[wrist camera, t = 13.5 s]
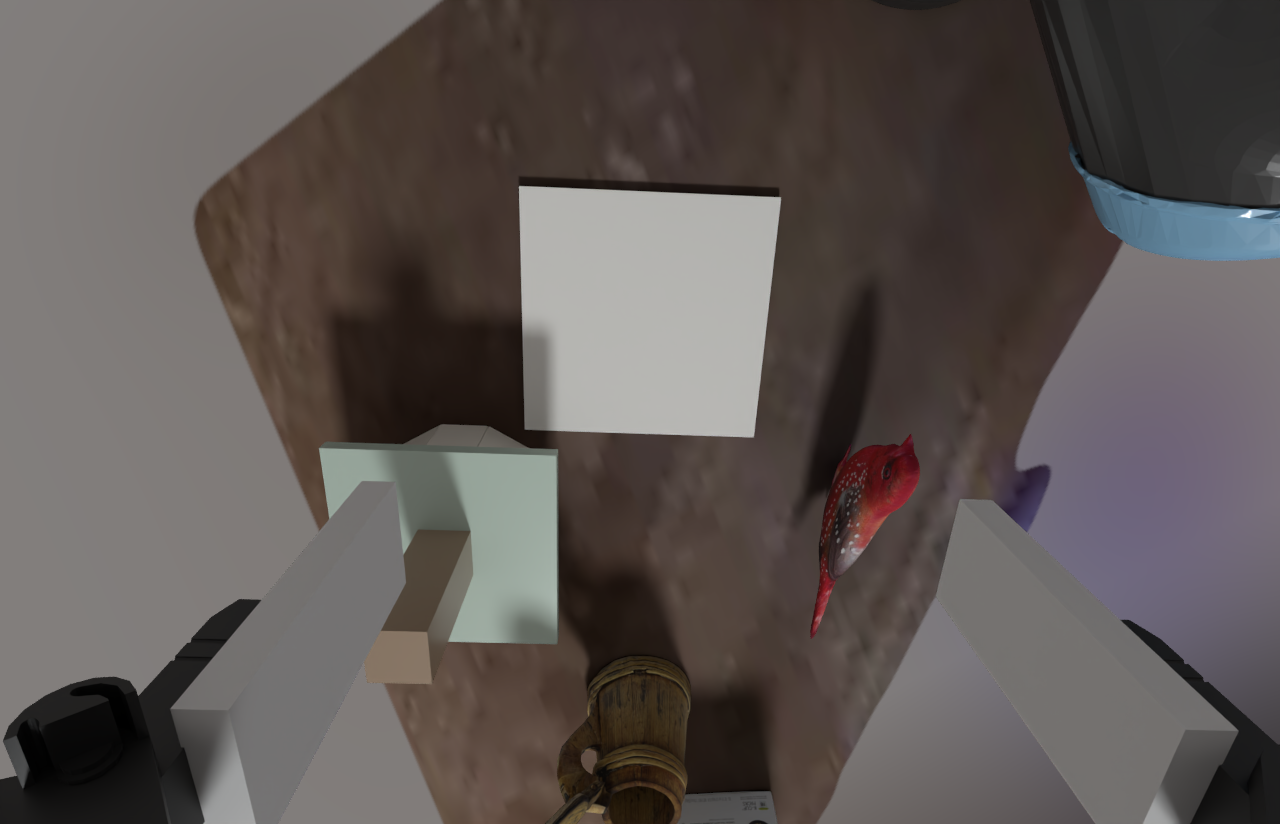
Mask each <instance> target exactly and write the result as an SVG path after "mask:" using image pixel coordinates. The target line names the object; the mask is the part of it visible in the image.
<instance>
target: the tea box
mask: <svg viewBox="0 0 1280 824" xmlns="http://www.w3.org/2000/svg"><path fill="white" fill-rule="evenodd" d="M677 824H778V823H777V818H776V812H775V808H774V803H773V798H772V794H771V792H770V791H753V792H725V793H705V794H688V795H685V799H684V801H683V804H682V812H681V818H680V819H679V821H678V823H677Z"/></svg>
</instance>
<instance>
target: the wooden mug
mask: <svg viewBox="0 0 1280 824" xmlns="http://www.w3.org/2000/svg"><path fill="white" fill-rule="evenodd" d="M690 705H691V687H690V683H689V681H688V679H687V677H686V675H685V674H684V673H683V671H682V670H681V669H680V668H679V667H678V666H676V665H675V664H673V663H671V662H669V661H668V660H664V659H661V658H658V657H653V656H628V657H624V658H621V659H618V660H615V661H613V662H612V663H610V664H609V665H607V666H606V667H604V668H603V669H602V670H601V671H600V672H599V673H598V675H597V676H596V677H595V678H594V679H593V681H592V682H591V683H590V685H589V687H588V708H587V711H588V718H587V719H586V721H585V722H584V723H583V724H582V725H581V726H580V727H579V728H578V729H577V730H576V731H575V732H574V733H573V734H572V735H571V736H570V738H569V739H568V740H567V741H566V742H565V744H564V745H563V746H562V749H561V751H560V754H559V757H558V761H557V777H558V782H559V786H560V791H561V793H562V796H563V798H564V801H565V804H564V805H563V806H562V807H561V808H560V809H559V810H558V811H557V812H556V813H555V814H554V815H553V816H552V817H551V818H550V819H549V820H548V821H547V822H546V823H545V824H577V823H578V822H579V820H580V819H581V818H582V816H583V815H584V814H585V813H586V812H592V813H599V814H602V817H603V820H604V822H605V824H677V823H678V821H679V819H680V818H681V812H682V804H683V801H684V799H685V792H686V786H687V779H688V777H687V772H686V769H685V767H684V762H685V746H686V731H687V719H688V716H689V712H690ZM587 750H594V751H596V756H597V763H596V764H595V766H594V768H593V773H592V774H590V773H589V772H587V771H586V770H585V769H584V768H583V766H582V763H581V755H582V754H583V753H584V751H587Z"/></svg>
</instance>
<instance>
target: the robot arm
mask: <svg viewBox="0 0 1280 824" xmlns="http://www.w3.org/2000/svg"><path fill="white" fill-rule="evenodd" d="M873 1H875V2H877V3H880V4H883V5H886V6H890V7H894V8H899V9H908V10H922V9H932V8H938V7H942V6H946V5H950V4H953V3H956V2H958V1H961V0H873ZM1030 3H1031V6H1032V10H1033V13H1034V16H1035V20H1036V23H1037V27H1038V30H1039V34H1040V37H1041V40H1042V44H1043V47H1044V51H1045V54H1046V58H1047V61H1048V64H1049V68H1050V71H1051V75H1052V78H1053V82H1054V85H1055V88H1056V92H1057V95H1058V99H1059V102H1060V106H1061V109H1062V112H1063V116H1064V119H1065V123H1066V126H1067V130H1068V133H1069V136H1070V140H1071V142H1070V144H1069V147H1068V148H1069V153H1070V158H1071V161H1072V163H1073V165H1074V167H1075V168H1076V169H1077V171H1078V172H1079V173H1080V174H1081V175H1082V176H1083V178H1084V181H1085V183H1086V186H1087V189H1088V192H1089V195H1090V197H1091V200H1092V203H1093V206H1094V209H1095V212H1096V214H1097V216H1098V218H1099V220H1100V221H1101V223H1102V224H1103V225H1104V226H1105V228H1106V229H1107V230H1108V231H1110V232H1112V233H1114V234H1116V235H1117V236H1118V237H1119V238H1120V239H1121V240H1123V241H1125V242H1126V243H1127V244H1129V245H1131V246H1133V247H1135V248H1138V249H1141V250H1144V251H1147V252H1151V253H1155V254H1159V255H1164V256H1169V257H1175V258H1182V259H1193V260H1215V261H1218V260H1219V261H1223V260H1226V261H1227V260H1228V261H1231V260H1256V259H1268V258H1279V257H1280V0H1030ZM405 584H406V577H405V567H404V558H403V548H402V538H401V529H400V519H399V510H398V500H397V490H396V482H383V481H361V482H360V484H359V485H358V486H357V487H356V488H355V490H354V491H353V492H352V493H351V494H350V496H349V497H348V498H347V499H346V500H345V501H344V503H343V504H342V505H341V506H340V507H339V509H338V510H337V511H336V512H335V513H334V515H333V516H332V517H331V518H330V519H329V521H328V522H327V523H326V524H325V525H324V526H323V528H322V529H321V530H320V531H319V532H318V534H317V535H316V536H315V537H314V538H313V540H312V541H311V542H310V543H309V544H308V546H307V547H306V548H305V549H304V550H303V551H302V553H301V554H300V555H299V556H298V558H297V559H296V560H295V561H294V562H293V563H292V565H291V566H290V567H289V568H288V569H287V571H286V572H285V573H284V574H283V575H282V577H281V578H280V579H279V580H278V581H277V582H276V584H275V585H274V586H273V587H272V588H271V590H270V591H269V592H268V593H267V594H266V596H265V597H264V598H263V599H262V600H249V599H248V600H247V599H239V600H237V601H236V602H234V603H233V604H231V605H229V606H228V607H226V608H225V609H223V610H222V611H220V612H218V613H217V614H215V615H214V616H212V617H211V618H210V619H209V620H208V621H207V622H206V623H205V625H204V626H202V628H201V629H200V630H199V631H198V632H197V633H196V634H195V635H194V636H193V637H192V640H191V643H187V644H186V645H185V646H184V647H183V648H182V649H181V650H180V652H179V653H178V654H177V655H176V656H175V660H174V661H170V662H169V664H168V665H167V666H166V667H165V668H164V669H163V670H162V671H161V672H160V673H159V674H158V676H157V677H156V678H155V679H154V680H153V681H152V682H151V683H150V684H149V685H148V686H147V688H145V690H144V691H143V692H142V693H141V694H140V695H139V696H138V695H137V692H136V689H135V688H134V687H133V685H132V684H131V682H130V681H127V680H124V679H121V678H117V677H103V678H102V677H101V678H92V679H88V680H85V681H81V682H77V683H73V684H70V685H68V686H65V687H63V688H61V689H59V690H57V691H55V692H52V693H50V694H48V695H46V696H44V697H43V698H41V699H40V700H38V701H37V702H36V703H34V704H32V705H31V706H29V707H28V708H26V709H25V710H24V711H23V712H22V713H21V714H20V715H19V716H18V717H17V718H16V719H15V720H14V721H13V722H12V723H11V725H9V727H8V730H7V732H6V735H5V737H4V740H3V742H4V745H5V747H6V750H7V752H8V754H9V757H10V759H11V762H12V764H13V766H14V769H15V771H16V774H17V776H14V777H9V778H5V779H1V780H0V824H278V823H279V821H280V819H281V817H282V815H283V813H284V811H285V810H286V808H287V806H288V804H289V802H290V800H291V798H292V796H293V795H294V793H295V791H296V789H297V787H298V785H299V783H300V781H301V779H302V778H303V776H304V774H305V772H306V770H307V768H308V766H309V764H310V763H311V761H312V759H313V757H314V755H315V753H316V751H317V749H318V748H319V746H320V744H321V742H322V740H323V738H324V736H325V734H326V733H327V731H328V729H329V727H330V725H331V723H332V721H333V719H334V717H335V715H336V714H337V712H338V710H339V708H340V706H341V704H342V702H343V701H344V699H345V696H346V695H347V693H348V691H349V689H350V687H351V685H352V684H353V682H354V680H355V678H356V676H357V674H358V672H359V670H360V669H361V667H362V664H363V663H364V661H365V659H366V657H367V655H368V654H369V652H370V650H371V648H372V646H373V644H374V642H375V640H376V638H377V637H378V635H379V633H380V631H381V629H382V627H383V625H384V623H385V622H386V620H387V618H388V616H389V614H390V612H391V610H392V608H393V606H394V605H395V603H396V601H397V599H398V597H399V595H400V593H401V591H402V590H403V588H404V586H405ZM936 598H937V599H938V601H939V602H940V603H941V605H942V606H943V607H944V609H945V610H946V612H947V613H948V615H949V616H950V617H951V619H952V620H953V622H954V623H955V625H956V626H957V627H958V629H959V630H960V632H961V633H962V635H963V636H964V637H965V639H966V640H967V642H968V643H969V645H970V646H971V647H972V649H973V650H974V652H975V653H976V655H977V656H978V657H979V659H980V660H981V662H982V663H983V665H984V666H985V667H986V669H987V670H988V672H989V673H990V674H991V676H992V677H993V679H994V680H995V681H996V683H997V684H998V686H999V687H1000V689H1001V690H1002V692H1003V693H1004V694H1005V696H1006V697H1007V699H1008V700H1009V701H1010V703H1011V704H1012V706H1013V707H1014V708H1015V710H1016V711H1017V713H1018V714H1019V716H1020V717H1021V719H1022V720H1023V721H1024V723H1025V724H1026V726H1027V727H1028V728H1029V730H1030V731H1031V733H1032V734H1033V735H1034V737H1035V738H1036V740H1037V741H1038V743H1039V744H1040V746H1041V747H1042V748H1043V750H1044V751H1045V753H1046V754H1047V755H1048V757H1049V758H1050V760H1051V761H1052V763H1053V764H1054V765H1055V767H1056V768H1057V770H1058V771H1059V773H1060V774H1061V775H1062V777H1063V778H1064V780H1065V781H1066V783H1067V784H1068V785H1069V787H1070V788H1071V790H1072V791H1073V792H1074V794H1075V795H1076V797H1077V798H1078V800H1079V801H1080V802H1081V804H1082V805H1083V807H1084V808H1085V809H1086V811H1087V812H1088V814H1089V815H1090V816H1091V818H1092V819H1093V821H1094V822H1095V824H1280V745H1278V744H1276V743H1275V742H1274V741H1273V740H1272V739H1271V738H1270V737H1269V736H1268V735H1266V734H1265V733H1264V732H1263V731H1262V730H1261V729H1260V728H1259V727H1258V726H1257V725H1255V724H1254V723H1253V722H1252V721H1251V720H1250V719H1249V718H1247V716H1245V715H1244V714H1243V713H1242V712H1241V711H1240V710H1239V709H1237V708H1236V707H1235V706H1234V705H1233V704H1232V703H1231V702H1230V701H1229V700H1228V699H1227V698H1225V697H1224V696H1223V695H1222V694H1221V693H1220V692H1219V691H1218V690H1216V689H1215V688H1214V687H1213V686H1212V685H1211V684H1210V683H1209V682H1204V681H1203V677H1202V676H1201V675H1200V674H1199V673H1198V672H1197V671H1195V670H1194V669H1193V668H1192V667H1191V666H1190V665H1189V664H1184V660H1183V659H1182V658H1181V657H1180V656H1179V655H1178V654H1176V653H1175V652H1174V651H1173V650H1172V649H1171V648H1170V647H1169V646H1168V645H1166V644H1165V643H1164V642H1163V641H1162V640H1161V639H1160V638H1158V637H1156V636H1155V635H1153V634H1151V633H1150V632H1148V631H1146V630H1145V629H1143V628H1141V627H1140V626H1138V625H1137V624H1135V623H1133V622H1132V621H1130V620H1120V619H1118V618H1117V617H1116V616H1115V615H1114V614H1113V613H1112V612H1111V611H1110V610H1109V609H1108V608H1107V607H1106V606H1104V604H1103V603H1101V602H1100V601H1099V600H1098V599H1097V598H1096V597H1095V596H1094V595H1093V594H1092V593H1091V592H1090V591H1089V590H1088V589H1086V588H1085V587H1084V586H1083V585H1082V584H1081V583H1080V582H1079V581H1078V580H1077V579H1076V578H1075V577H1074V576H1073V575H1072V574H1070V573H1069V572H1068V571H1067V570H1066V569H1065V568H1064V567H1063V566H1062V565H1061V564H1060V563H1059V562H1058V561H1056V560H1055V559H1054V558H1053V557H1052V556H1051V555H1050V554H1049V553H1048V552H1047V551H1046V550H1045V549H1044V548H1043V547H1041V546H1040V545H1039V544H1038V543H1037V542H1036V541H1035V540H1034V539H1033V538H1032V537H1031V536H1030V535H1029V534H1028V533H1027V532H1026V531H1024V530H1023V529H1022V528H1021V527H1020V526H1019V525H1018V524H1017V523H1016V522H1015V521H1014V520H1013V519H1012V518H1011V517H1009V516H1008V515H1007V514H1006V513H1005V512H1004V511H1003V510H1002V509H1001V508H1000V507H999V506H998V505H997V504H996V503H994V502H993V501H992V500H971V499H960V501H959V505H958V509H957V513H956V517H955V521H954V525H953V529H952V533H951V537H950V541H949V545H948V549H947V553H946V557H945V561H944V565H943V569H942V574H941V578H940V582H939V586H938V590H937V594H936Z"/></svg>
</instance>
